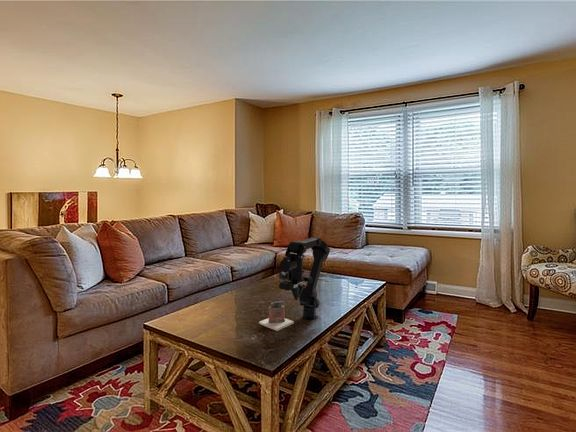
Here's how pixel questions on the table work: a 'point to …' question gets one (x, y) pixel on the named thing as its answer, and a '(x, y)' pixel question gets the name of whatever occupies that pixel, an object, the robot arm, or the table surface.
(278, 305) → the lighter
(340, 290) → the table surface
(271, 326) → the coaster
